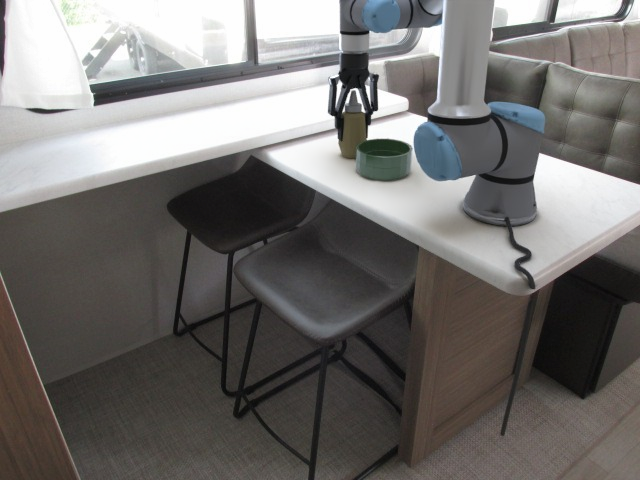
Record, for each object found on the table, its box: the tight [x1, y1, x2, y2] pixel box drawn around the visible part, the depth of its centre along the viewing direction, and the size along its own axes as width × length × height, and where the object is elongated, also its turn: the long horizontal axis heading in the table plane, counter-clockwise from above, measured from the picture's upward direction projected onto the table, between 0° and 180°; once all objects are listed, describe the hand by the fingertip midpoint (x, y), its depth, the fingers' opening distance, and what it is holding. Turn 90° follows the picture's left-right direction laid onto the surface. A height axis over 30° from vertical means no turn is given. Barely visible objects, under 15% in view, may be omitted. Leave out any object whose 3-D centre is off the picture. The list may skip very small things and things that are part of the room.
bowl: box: [355, 138, 414, 182], centre depth 132 cm, size 14×14×6 cm
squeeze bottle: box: [337, 89, 368, 159], centre depth 140 cm, size 8×8×18 cm
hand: (352, 138), depth 142 cm, fingers open, 6 cm apart
